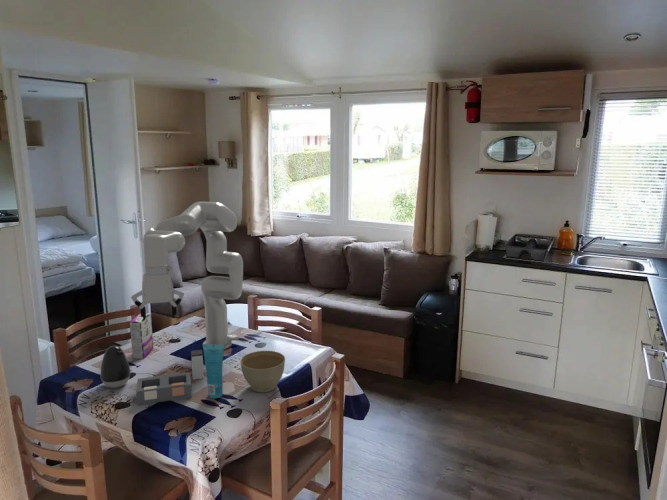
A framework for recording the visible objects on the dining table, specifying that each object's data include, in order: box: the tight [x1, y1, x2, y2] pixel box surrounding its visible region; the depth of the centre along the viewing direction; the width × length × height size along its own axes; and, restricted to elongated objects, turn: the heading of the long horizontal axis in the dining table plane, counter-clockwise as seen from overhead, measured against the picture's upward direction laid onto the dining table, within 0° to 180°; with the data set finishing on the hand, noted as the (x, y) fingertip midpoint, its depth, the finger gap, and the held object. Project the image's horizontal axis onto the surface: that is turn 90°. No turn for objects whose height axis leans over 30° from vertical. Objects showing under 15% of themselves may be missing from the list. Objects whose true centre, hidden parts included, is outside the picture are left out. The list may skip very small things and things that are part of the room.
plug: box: [190, 349, 205, 380], centre depth 189 cm, size 4×4×10 cm
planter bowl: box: [239, 350, 286, 393], centre depth 181 cm, size 16×16×11 cm
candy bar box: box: [128, 312, 155, 360], centre depth 209 cm, size 11×5×16 cm, turn 179°
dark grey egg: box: [100, 345, 131, 389], centre depth 181 cm, size 10×10×15 cm
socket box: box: [135, 371, 193, 406], centre depth 175 cm, size 18×10×5 cm, turn 108°
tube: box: [202, 343, 225, 399], centre depth 174 cm, size 7×5×19 cm, turn 96°
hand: (159, 317), depth 173 cm, fingers open, 9 cm apart
